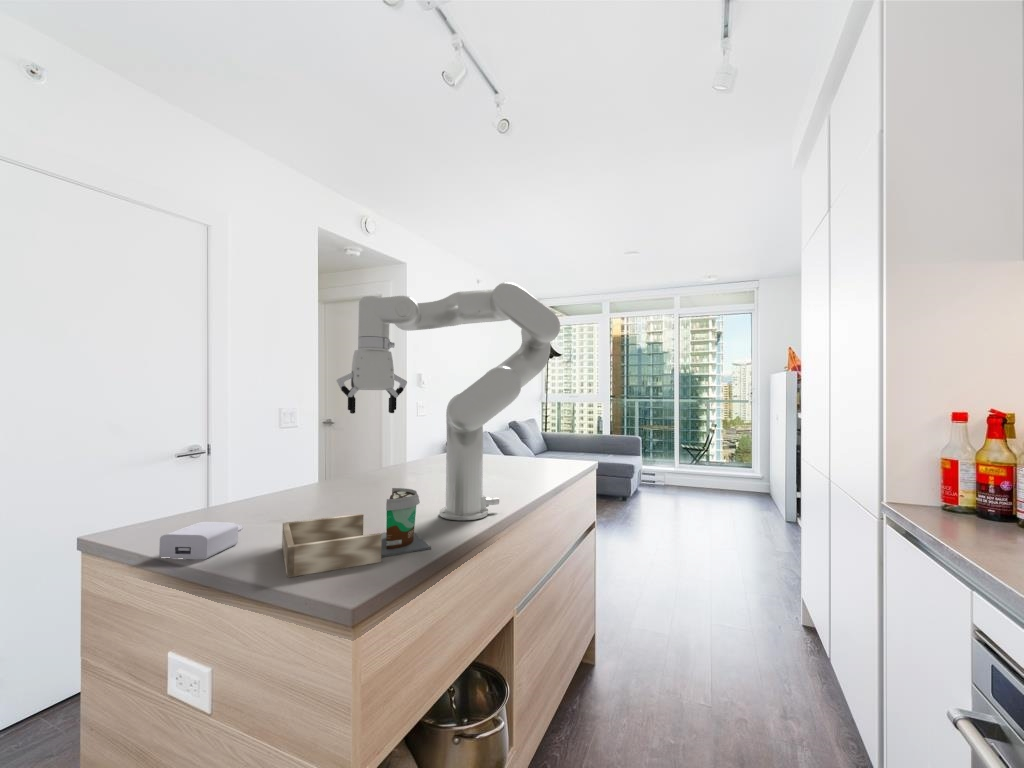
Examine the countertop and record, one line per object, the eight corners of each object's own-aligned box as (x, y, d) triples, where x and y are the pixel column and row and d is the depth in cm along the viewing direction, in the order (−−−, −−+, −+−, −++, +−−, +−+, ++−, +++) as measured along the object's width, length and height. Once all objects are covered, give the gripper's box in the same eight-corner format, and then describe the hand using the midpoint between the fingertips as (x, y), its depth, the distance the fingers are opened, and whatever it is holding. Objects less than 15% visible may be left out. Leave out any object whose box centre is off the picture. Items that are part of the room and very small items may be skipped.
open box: (362, 536, 98) (362, 513, 98) (381, 561, 83) (381, 534, 83) (282, 548, 90) (282, 522, 91) (287, 577, 76) (288, 547, 76)
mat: (410, 530, 103) (410, 529, 103) (431, 548, 91) (431, 546, 91) (365, 537, 98) (365, 535, 98) (380, 557, 86) (380, 555, 86)
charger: (256, 536, 99) (206, 561, 84) (216, 535, 99) (158, 559, 84) (257, 514, 99) (207, 535, 84) (216, 513, 99) (159, 534, 84)
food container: (417, 550, 88) (418, 499, 89) (385, 552, 87) (386, 499, 88) (420, 532, 101) (420, 486, 101) (391, 533, 100) (392, 487, 100)
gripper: (403, 349, 123) (402, 412, 122) (335, 345, 114) (333, 413, 113) (411, 346, 116) (410, 413, 115) (340, 341, 107) (338, 414, 107)
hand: (372, 413), depth 114 cm, fingers open, 9 cm apart
